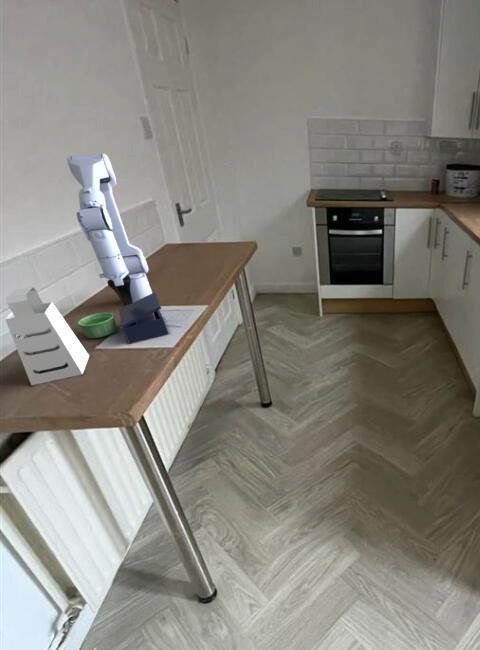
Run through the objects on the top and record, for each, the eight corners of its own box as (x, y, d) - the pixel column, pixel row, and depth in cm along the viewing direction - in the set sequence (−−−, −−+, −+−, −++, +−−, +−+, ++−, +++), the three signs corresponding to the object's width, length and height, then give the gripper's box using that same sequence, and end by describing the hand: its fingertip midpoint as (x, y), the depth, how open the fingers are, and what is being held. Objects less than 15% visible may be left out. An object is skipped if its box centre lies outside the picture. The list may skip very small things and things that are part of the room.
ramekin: (87, 330, 123) (80, 316, 121) (120, 323, 126) (115, 310, 124) (81, 342, 116) (74, 327, 114) (117, 335, 119) (111, 320, 117)
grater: (31, 385, 98) (-18, 304, 87) (42, 365, 106) (-1, 289, 95) (82, 374, 101) (41, 294, 90) (89, 355, 109) (52, 281, 98)
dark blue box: (162, 318, 129) (156, 303, 126) (168, 333, 118) (163, 318, 116) (126, 326, 125) (120, 312, 122) (129, 343, 114) (123, 328, 112)
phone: (137, 323, 124) (133, 314, 122) (156, 319, 126) (152, 309, 124) (140, 335, 117) (136, 325, 115) (160, 330, 119) (156, 320, 117)
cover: (155, 294, 125) (153, 292, 125) (161, 308, 115) (159, 306, 114) (120, 311, 122) (118, 309, 122) (123, 328, 112) (121, 325, 111)
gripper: (91, 253, 116) (111, 299, 123) (92, 264, 105) (113, 315, 113) (120, 248, 119) (137, 294, 126) (123, 259, 108) (142, 308, 116)
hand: (128, 303), depth 120 cm, fingers closed
